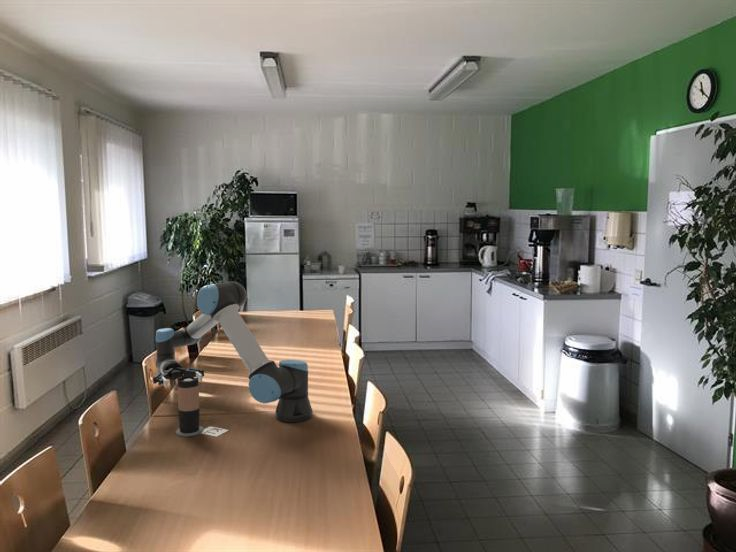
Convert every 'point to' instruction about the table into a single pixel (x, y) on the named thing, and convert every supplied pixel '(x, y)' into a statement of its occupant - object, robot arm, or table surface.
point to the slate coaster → (189, 433)
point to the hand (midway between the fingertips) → (184, 381)
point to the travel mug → (188, 404)
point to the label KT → (214, 431)
